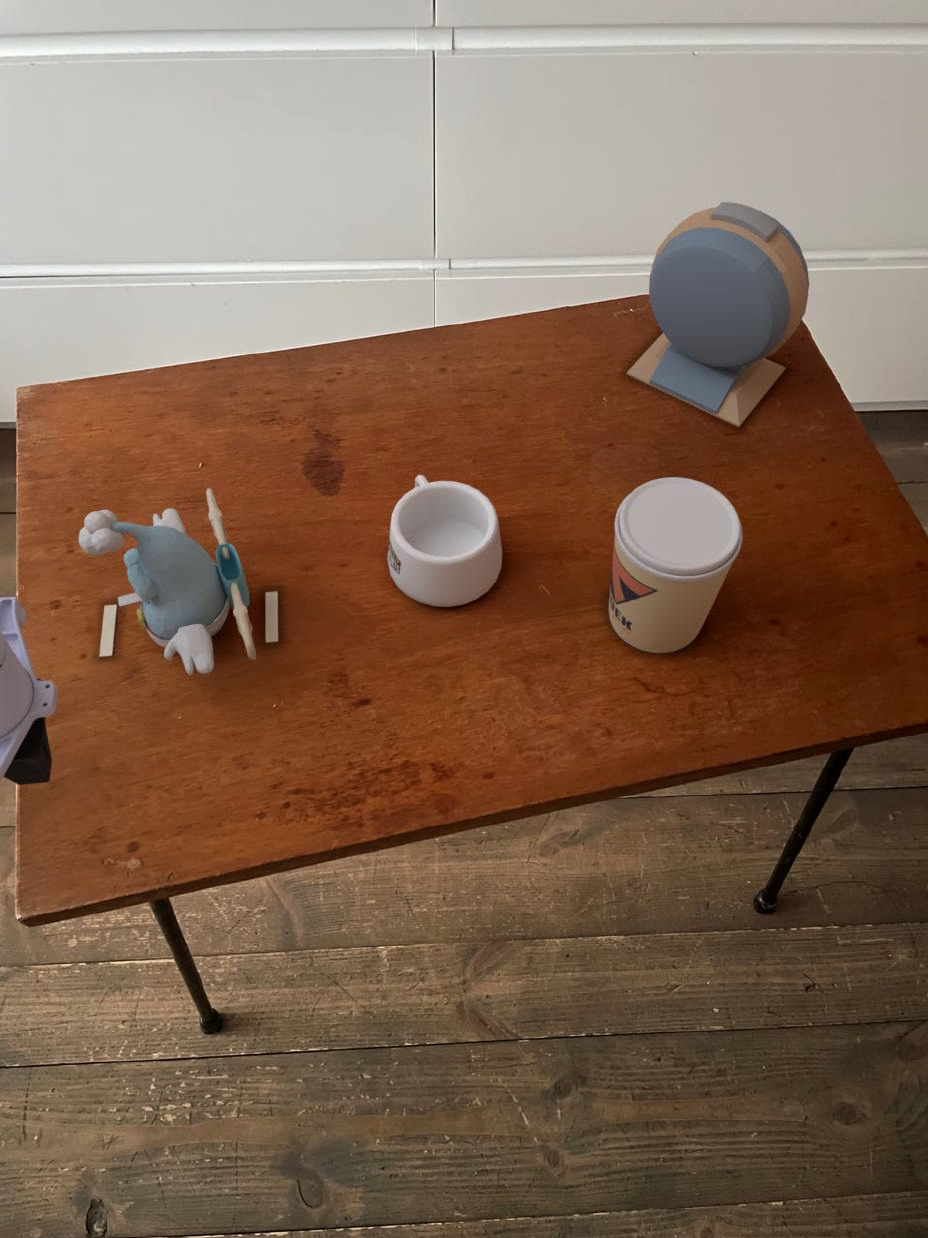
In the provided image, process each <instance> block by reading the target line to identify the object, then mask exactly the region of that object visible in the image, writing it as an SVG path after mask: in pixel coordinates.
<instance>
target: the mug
mask: <svg viewBox="0 0 928 1238" xmlns="http://www.w3.org/2000/svg"><path fill="white" fill-rule="evenodd" d="M498 517H499V516H498V514H497V512H496V508H495V506H494V505H493V502H492V501H491V500H490V498H489V497H488V496H486V495H485V494H484V493H483V492H482V491H480V490H479V489H477V488H475V487H473V486H472V485H469V484H467V483H462V482H458V481H455V480H454V481H452V480H439V481H438V480H436V481H431V482H429V481H428V480H427V478H426V477H425V475H423V474H418V475H417V476H416V477H415V478H414V488H413V489H411V490H409V491H408V492H406V493H404V495H403V496H402V497H401V498H400V499H399V500H398V502H397V503H396V505H395V506H394V509H393V511H392V514H391V519H390V527H389V536H388V537H389V539H388V549H387V564H388V569H389V574H390V577H391V579H392V580H393V583H394V584H395V585H396V586H397V588H398V589H399V590H400V591H402V593H403V594H404V595H406V596H407V597H409V598H411V599H413V600H414V601H416V602H417V603H420V604H424V605H427V606H432V607H439V608H440V607H441V608H443V607H444V608H451V607H456V606H463V605H466V604H468V603H471V602H473V601H476V600H478V599H479V598H480V597H482V596H483V595H485V594H486V593H487V592H489V590H490V589H491V588H492V587H493V586H494V585H495V583H496V582H497V581H498V578H499V575H500V573H501V570H502V564H503V561H502V560H503V548H502V540H501V534H500V524H499V518H498Z"/></svg>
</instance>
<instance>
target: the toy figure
mask: <svg viewBox="0 0 928 1238" xmlns="http://www.w3.org/2000/svg"><path fill="white" fill-rule="evenodd" d="M205 496H206V500H207V506H208V510H209V511H208V518H209V520H210V523H211V527H212V530H213V535H214V537H215V538H216V539H217V542H218V545H217V547H216V549H215V560H216V562H215V561H214V560H213V558H212V557H211V556H210V554H209V553H208V552H207V551H206V549H205V548H204V547H203V545H201V544H200V543H198V542H197V541H195V540H194V538H192V537H191V536H189V535H187V531H186V526H185V525H184V522H183V520H182V519H181V516H180V513H179V512H178V511H177V509H175V508H172V507H169V508H166V509H164V510H163V512H162V514H161V517H160V515H159V514H157V513H154V514H153V515H152V523H153V525H143V524H138V523H134V522H133V523H132V522H124V521H118V517H117V515H116V514H115V513H114V512H113V511H112V510H109V509H101V510H94V511H91V512H89V514H87V515H86V516H85V518H84V522H83V527H82V528H81V529H80V530H79V534H78V544H79V546H80V549H81V550H82V551H83V552H84V553H86V554H87V555H90V556H92V557H102V556H103V555H106V554H108V553H110V552H111V553H113V552H116V551H118V550H120V549H122V548H123V545H124V543H125V541H126V540H125V535H124V534H123V533H125V534H127V535H130V536H131V537H134V538H135V539H136V540H137V541H136V547H132V548H131V549H128V550H126V552H125V554H124V555H123V563H124V564H125V566H126V568H127V570H126V573H127V579H128V582H129V584H130V585H131V586H132V588H133V589H132V590H133V591H134V592H132V593H128V594H124V595H121V596H117V602H118V606H119V607H122V606H126V605H130V604H134V603H138V602H140V608H138V609H136V615H137V620H138V623H139V625H140V628H141V629H142V630H146V632H147V633H148V635H149V637H150V638H151V639H152V640H153V641H154V642H155V643H156V644H157V645H159V646H160V647H161V648H164V652H163V658H164V659H165V660H166V661H168V662H169V661H172V660H173V658H174V656H175V654H177V653H178V654H179V656H180V658H181V660H182V663H183V667H184V669H185V672H186V673H187V675H188V676H193V675H194V672H195V670H196V671H197V672H198V673H199V674H201V675H207V674H210V673H211V672H212V671H213V670H214V668H215V662H214V646H213V640H212V637H213V636H215V635H216V634H217V633H218V632H219V631H220V630H221V629H222V628H223V626H224V624H225V622H226V620H227V618H228V614H229V611H230V608H231V609H232V610H233V611H232V613H233V616H234V617H235V621H236V625H237V629H238V630H237V631H238V633H239V634H240V635H241V636H242V639H243V642H244V646H245V650H246V654H247V657H248V658H249V659H250V660H252V661H256V659H257V652H256V646H255V644H254V643H255V642H254V639H253V625H252V624H251V621H250V616H249V613H248V611H249V610H248V607H249V605H250V591H249V588H248V584H247V583H248V582H247V581H246V579H247V578H246V577H245V576H246V575H245V572H244V567H243V565H242V562H241V558H240V556H239V554H238V552H237V550H236V548H235V545H233V544H231V543H230V542H228V539H227V534H228V531H227V529H226V525H225V521H224V519H223V512H222V511H221V510H220V508H219V507H218V503H217V501H216V497H215V494H214V491H213V489H212V488H211V487H208V488H207V489H206V492H205ZM149 629H150V630H149ZM152 633H153V634H152Z"/></svg>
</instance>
